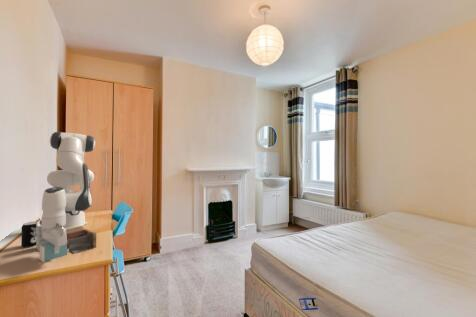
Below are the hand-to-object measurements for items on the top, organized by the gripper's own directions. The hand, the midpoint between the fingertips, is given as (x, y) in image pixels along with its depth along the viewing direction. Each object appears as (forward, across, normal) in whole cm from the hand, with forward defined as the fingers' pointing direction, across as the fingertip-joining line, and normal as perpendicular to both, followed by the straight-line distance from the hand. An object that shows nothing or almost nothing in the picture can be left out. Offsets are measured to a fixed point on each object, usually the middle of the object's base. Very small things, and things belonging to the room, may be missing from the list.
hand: (53, 251), depth 104 cm
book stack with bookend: (+3, +5, -11) cm, 13 cm away
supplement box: (+3, +18, -2) cm, 18 cm away
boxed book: (+3, 0, 0) cm, 3 cm away
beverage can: (+3, +28, +2) cm, 28 cm away
